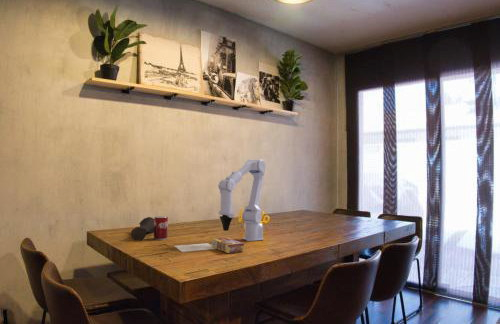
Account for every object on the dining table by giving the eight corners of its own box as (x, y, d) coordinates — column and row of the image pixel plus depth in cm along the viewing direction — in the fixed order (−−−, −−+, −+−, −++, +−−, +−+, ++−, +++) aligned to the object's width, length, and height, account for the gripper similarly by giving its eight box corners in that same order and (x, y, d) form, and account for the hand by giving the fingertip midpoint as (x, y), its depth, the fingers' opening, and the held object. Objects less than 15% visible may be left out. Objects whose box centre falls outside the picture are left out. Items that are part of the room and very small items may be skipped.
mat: (207, 243, 172) (207, 243, 172) (216, 248, 161) (216, 248, 161) (174, 246, 165) (174, 245, 165) (181, 252, 153) (181, 251, 153)
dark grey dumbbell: (146, 235, 206) (134, 250, 178) (137, 220, 205) (124, 233, 177) (162, 226, 206) (153, 241, 178) (154, 211, 205) (143, 223, 177)
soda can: (170, 238, 185) (170, 216, 186) (162, 240, 178) (163, 217, 179) (158, 237, 188) (159, 215, 188) (150, 239, 181) (151, 217, 181)
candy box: (211, 247, 164) (227, 253, 151) (211, 238, 164) (227, 243, 151) (227, 246, 169) (244, 251, 156) (227, 237, 169) (244, 242, 156)
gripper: (213, 202, 175) (213, 228, 175) (224, 204, 162) (224, 233, 162) (226, 202, 178) (226, 227, 178) (237, 204, 165) (237, 232, 165)
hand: (225, 230), depth 170 cm, fingers closed
